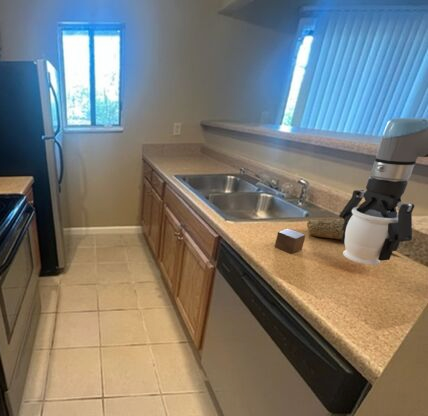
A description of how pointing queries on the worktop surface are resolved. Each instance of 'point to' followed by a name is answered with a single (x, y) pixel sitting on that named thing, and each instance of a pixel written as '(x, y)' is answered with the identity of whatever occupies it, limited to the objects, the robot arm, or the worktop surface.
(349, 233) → the jar
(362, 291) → the worktop surface
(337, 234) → the rough brown rock
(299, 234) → the walnut block
